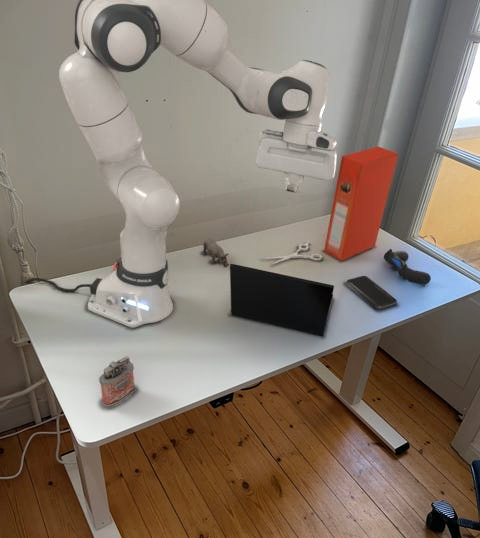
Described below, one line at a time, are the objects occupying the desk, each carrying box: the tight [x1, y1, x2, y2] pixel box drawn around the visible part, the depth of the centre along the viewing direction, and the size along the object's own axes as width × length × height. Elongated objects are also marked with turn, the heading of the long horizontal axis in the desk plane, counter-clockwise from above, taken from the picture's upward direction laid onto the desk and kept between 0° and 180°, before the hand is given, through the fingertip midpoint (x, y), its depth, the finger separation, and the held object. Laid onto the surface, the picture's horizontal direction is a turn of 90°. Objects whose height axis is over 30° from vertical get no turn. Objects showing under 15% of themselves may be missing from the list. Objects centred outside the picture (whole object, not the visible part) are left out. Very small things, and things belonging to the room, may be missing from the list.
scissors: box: [264, 241, 323, 265], centre depth 163 cm, size 11×1×20 cm
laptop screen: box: [229, 263, 335, 334], centre depth 125 cm, size 18×25×1 cm
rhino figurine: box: [201, 237, 230, 268], centre depth 155 cm, size 4×14×6 cm, turn 33°
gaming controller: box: [383, 248, 432, 286], centre depth 158 cm, size 17×6×10 cm
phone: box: [345, 275, 398, 311], centre depth 149 cm, size 8×1×15 cm
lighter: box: [98, 355, 136, 409], centre depth 107 cm, size 8×3×10 cm, turn 138°
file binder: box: [323, 146, 399, 262], centre depth 160 cm, size 8×17×32 cm, turn 131°
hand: (290, 191), depth 130 cm, fingers closed
